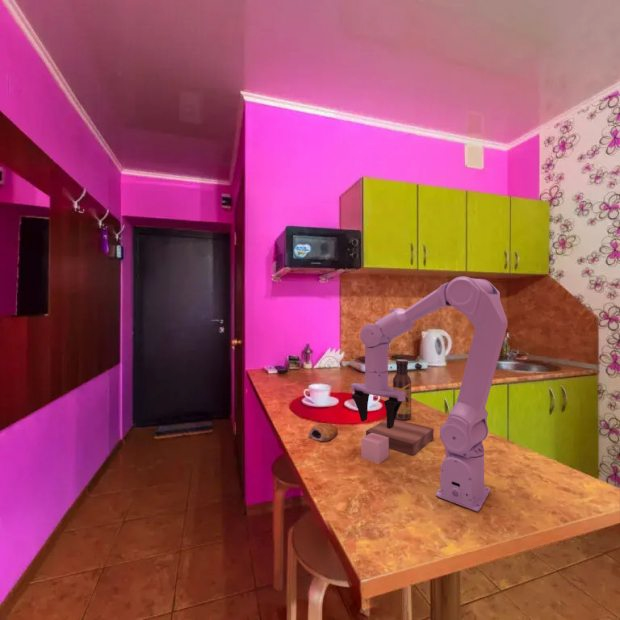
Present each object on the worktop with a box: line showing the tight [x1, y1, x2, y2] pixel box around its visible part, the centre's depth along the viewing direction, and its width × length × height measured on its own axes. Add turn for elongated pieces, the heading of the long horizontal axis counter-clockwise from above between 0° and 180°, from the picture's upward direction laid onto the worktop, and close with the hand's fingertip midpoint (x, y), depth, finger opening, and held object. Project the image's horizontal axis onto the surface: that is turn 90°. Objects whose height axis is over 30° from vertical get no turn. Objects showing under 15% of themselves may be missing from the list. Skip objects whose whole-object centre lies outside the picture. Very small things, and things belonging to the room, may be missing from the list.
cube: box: [360, 433, 390, 465], centre depth 83 cm, size 5×5×5 cm
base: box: [365, 418, 434, 456], centre depth 93 cm, size 14×14×3 cm
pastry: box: [308, 423, 339, 443], centre depth 97 cm, size 9×7×4 cm
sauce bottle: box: [392, 358, 412, 421], centre depth 112 cm, size 6×6×20 cm
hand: (376, 423), depth 83 cm, fingers open, 7 cm apart
